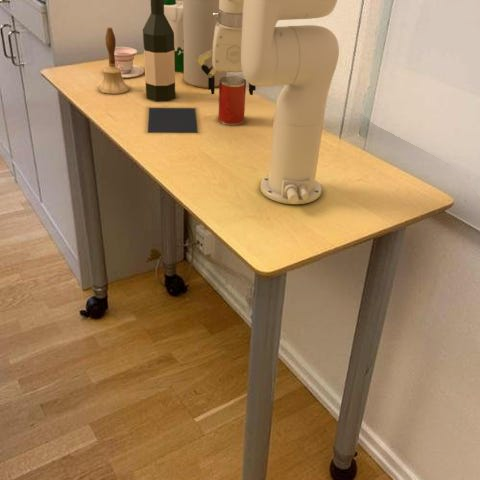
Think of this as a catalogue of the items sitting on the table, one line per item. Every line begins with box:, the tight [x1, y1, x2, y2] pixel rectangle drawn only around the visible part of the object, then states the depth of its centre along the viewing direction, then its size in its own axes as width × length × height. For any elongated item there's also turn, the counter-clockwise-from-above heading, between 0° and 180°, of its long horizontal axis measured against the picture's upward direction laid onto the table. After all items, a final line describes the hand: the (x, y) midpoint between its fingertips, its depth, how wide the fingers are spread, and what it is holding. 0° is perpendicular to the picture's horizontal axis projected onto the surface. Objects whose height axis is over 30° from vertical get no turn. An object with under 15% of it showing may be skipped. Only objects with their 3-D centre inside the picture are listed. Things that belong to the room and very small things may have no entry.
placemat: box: [147, 107, 199, 134], centre depth 148 cm, size 16×12×1 cm
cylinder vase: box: [182, 0, 228, 89], centre depth 164 cm, size 12×12×25 cm
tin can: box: [217, 75, 247, 126], centre depth 147 cm, size 7×7×10 cm
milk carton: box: [164, 0, 184, 73], centre depth 174 cm, size 9×9×20 cm
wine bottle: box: [142, 0, 176, 102], centre depth 151 cm, size 8×8×30 cm
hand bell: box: [98, 27, 130, 95], centre depth 158 cm, size 8×8×16 cm
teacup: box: [103, 46, 145, 79], centre depth 173 cm, size 12×12×6 cm
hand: (231, 92), depth 146 cm, fingers open, 9 cm apart
